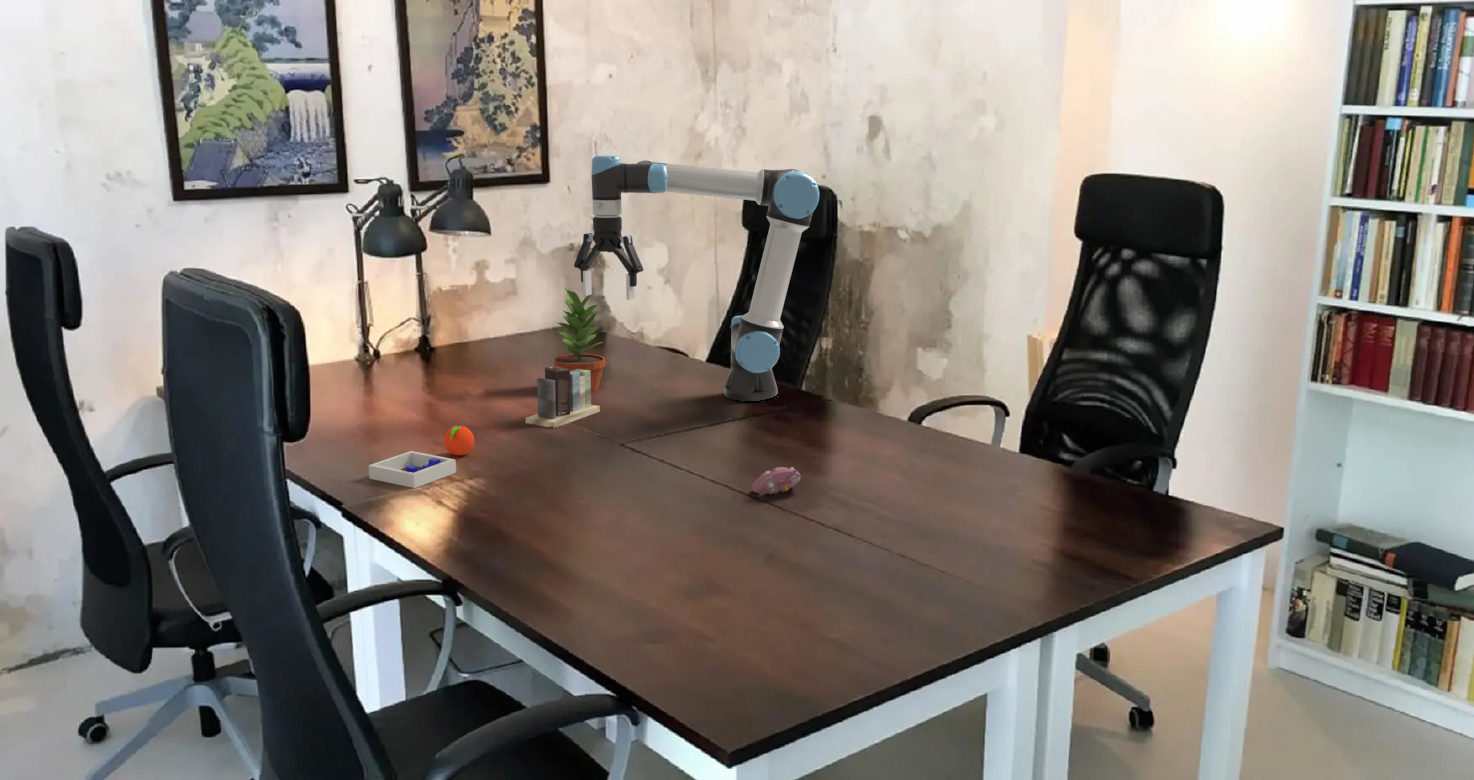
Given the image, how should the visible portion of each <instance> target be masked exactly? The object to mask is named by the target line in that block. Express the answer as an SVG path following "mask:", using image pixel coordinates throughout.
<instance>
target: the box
mask: <svg viewBox="0 0 1474 780" xmlns="http://www.w3.org/2000/svg"><path fill="white" fill-rule="evenodd" d="M544 379H550V380H555V391H556V416H557V417H560V416H566V415H570V370H569V369H565V368H562V367H559V366H556V367H555V366H547V367H545V368H544Z"/></svg>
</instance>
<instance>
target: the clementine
mask: <svg viewBox="0 0 1474 780" xmlns="http://www.w3.org/2000/svg"><path fill="white" fill-rule="evenodd" d="M474 436H475V435H474V433H473V432H472V431H471V429H469V428H468V427H466V426H464V425H455V426H452V427H451V428H449V429H448V430H447V432H445V435H444V438H443V444H444V447H445V449H446V451H448V453H450V454H452V455H454V456H456V457H458V456H459V457H462V456H464V455H467V454H469V453H470V452H471V450H472V449H473V447H474V445H475V437H474Z"/></svg>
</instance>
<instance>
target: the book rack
mask: <svg viewBox="0 0 1474 780" xmlns="http://www.w3.org/2000/svg"><path fill="white" fill-rule="evenodd" d="M536 386H537V387H536V388H537V389H536V390H537V391H536V392H537V395H536V396H537V413H535V414H533V415H530V416H525V424H527V423H529V424H528V425H533V424H535V425H534V426H540V427H544V428H550V427H553V428H552V429H555V427H556V428H559V427H562V426H564V425H567V424H569V422H570V423H572V422H576V421H579V420H581V419H584V418H586V417H589V416H591V415H594V414H597V413H600V411H601V406H600V405H596V404H592V392H591V371H590V370H583V369H576V370H573V371H570V415H566V416H560V417H557V416H556V391H555V380H550V379H545V378H542V377H538V378H537V379H536Z"/></svg>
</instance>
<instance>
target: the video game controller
mask: <svg viewBox="0 0 1474 780" xmlns="http://www.w3.org/2000/svg"><path fill="white" fill-rule="evenodd" d="M801 479H802V475H801V474H800V472H799V471H798V470H797V469H795V468H794V466H791V467H790V468H789V467H785V466H781V467H780V466H779V467H775V468H773V469H771V470H766V471H764V473H762V474H760V476H758V478H757V479H755V481H753V483H752V486H751V488H752V491H753V493H755V494H756V493H757V494H758V493H760V492H762V491H764V490H766V491H767V493H768V494H769V495H773V493H774V494H775V493H777V492H778V489H780V491H781V492H782V493H786V492H788V491H790V489H791V488H793V487H795V486H796V485H797V484H799V483H800V482H801ZM779 483H780V484H779ZM777 484H779V486H777ZM785 491H786V492H785Z"/></svg>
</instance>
